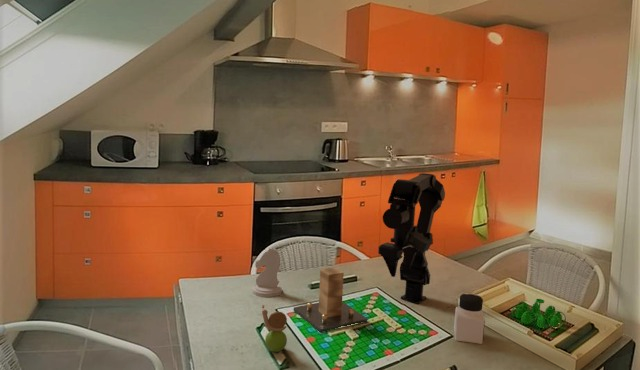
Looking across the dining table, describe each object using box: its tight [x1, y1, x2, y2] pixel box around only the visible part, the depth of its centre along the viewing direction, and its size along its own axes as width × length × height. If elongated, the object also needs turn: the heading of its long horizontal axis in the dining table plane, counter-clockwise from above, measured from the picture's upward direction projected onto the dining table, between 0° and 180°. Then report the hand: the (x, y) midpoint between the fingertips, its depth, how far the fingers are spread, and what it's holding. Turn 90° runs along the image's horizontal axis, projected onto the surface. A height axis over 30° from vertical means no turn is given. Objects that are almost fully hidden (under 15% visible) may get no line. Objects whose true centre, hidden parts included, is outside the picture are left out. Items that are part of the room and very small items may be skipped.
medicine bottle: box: [453, 292, 486, 345], centre depth 133 cm, size 7×7×12 cm
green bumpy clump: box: [511, 298, 567, 329], centre depth 145 cm, size 15×15×7 cm
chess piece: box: [251, 247, 283, 298], centre depth 159 cm, size 10×10×15 cm
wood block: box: [318, 266, 345, 318], centre depth 142 cm, size 5×5×13 cm
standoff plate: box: [293, 301, 368, 333], centre depth 143 cm, size 16×16×3 cm
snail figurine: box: [261, 304, 288, 353], centre depth 121 cm, size 5×6×12 cm
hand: (400, 272), depth 145 cm, fingers open, 9 cm apart
